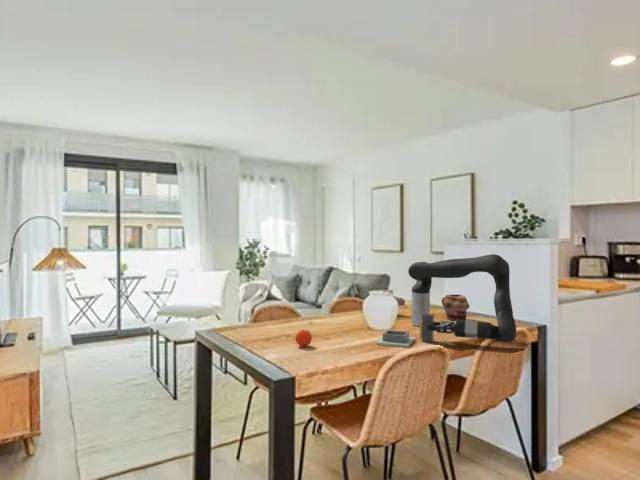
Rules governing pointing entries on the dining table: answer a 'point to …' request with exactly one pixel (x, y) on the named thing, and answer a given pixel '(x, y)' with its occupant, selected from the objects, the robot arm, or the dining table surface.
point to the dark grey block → (424, 333)
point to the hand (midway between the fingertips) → (428, 325)
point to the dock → (396, 339)
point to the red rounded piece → (303, 338)
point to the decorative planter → (455, 306)
